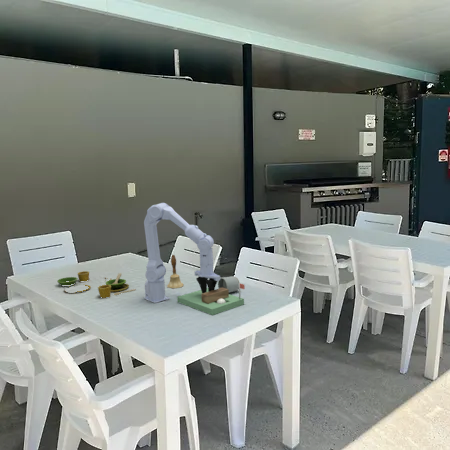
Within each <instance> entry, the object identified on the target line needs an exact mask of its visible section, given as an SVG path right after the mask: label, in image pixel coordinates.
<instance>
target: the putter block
mask: <svg viewBox="0 0 450 450" xmlns="http://www.w3.org/2000/svg"><path fill="white" fill-rule="evenodd" d="M229 294H230V293H229V289H226V288H215V289H214V290H212V291H209V292H206V293H202V294H201V295H202V302H204V303H207V304H209V303H212V302H215V301H217V300H218V299H221V298H222V299H224V298H227V297H229Z"/></svg>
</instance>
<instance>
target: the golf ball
mask: <svg viewBox="0 0 450 450" xmlns="http://www.w3.org/2000/svg"><path fill="white" fill-rule="evenodd" d="M217 303H218V304H223V303H226V301H225V300H224V299H222V298H221V299H218V300H217Z"/></svg>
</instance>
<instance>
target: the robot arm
mask: <svg viewBox="0 0 450 450" xmlns="http://www.w3.org/2000/svg"><path fill="white" fill-rule="evenodd" d="M146 212H147V213H146V215H145V217H144V220H143V225H144V228H143V229H144V234H145V243H146V250H147V258H148V261H147V263H146V265H145V266H146V270H145V278H146V281H145V284H144V295H145V296H144V297H143V299H144V300H147V301H148V302H152V303H153V304H156V303H160V302H164V301H166V300H169V299H170V297H168V296H166V286H165V285H166V284H165V276H166V273H167V269H166V267H165V265H164V261H163V260H162V259H161V252H160V251H161V250H160V244H159V235H158V226H157V224H158V223H159V222H161V220H167V221H171V222H172V223H173V224H175V225H177V226H178V227H179V228H180V229H182V230H183V231H184V234H185V236H186V237H187V238H189V240H191V242H193V243H194V244H196V246H197V248H198V250H199V266H200V267H199V268H200V270H194V276H195V277H196V281H197V283H198V284H199V288H200V290H201V291H202V293H206V292H207V288H208V292H209V291H212V290H216V286H217V285H218V281H219V280H220V278H221V275H219V274H216V273H215V272H214V254H213V246H214V245H215V240H214V238H213V237H212V236H211V235H207V233H204V232H203V231H202V230H201V229H199V226H198V225H195V224H189V223H188V222H187V220H185V219H184V218H183V217H182V216H181V215H180V214H179V213H177V212H176V211H175V210H174V208H173V207H172V206H170V205H169V204H168V203H165V202H160V203H157V204H153V205H152V204H151V206H150V207H149V208H148V209H147V210H146Z"/></svg>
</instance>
